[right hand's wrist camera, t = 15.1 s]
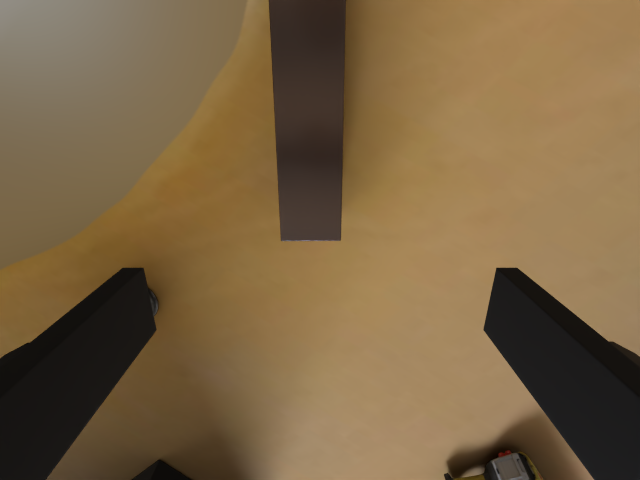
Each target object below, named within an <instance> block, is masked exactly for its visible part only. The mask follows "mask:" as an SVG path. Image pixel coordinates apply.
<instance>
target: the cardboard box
mask: <svg viewBox="0 0 640 480" xmlns="http://www.w3.org/2000/svg"><path fill="white" fill-rule="evenodd" d="M132 480H190V479H188V478H187V477H185V476H184V475H182V474H181V473H179V472H178V471H176V470H174V469H173V468H171V467H170V466H168V465H167V464H165V463H164V462H162V461H160V460H158V461H157V462H155V463H154V464H153V465H151V466H150V467H149V468H147V469H146V470H145V471H143V472H142V473H141V474H139V475H138V476H136V477H135V478H134V479H132Z"/></svg>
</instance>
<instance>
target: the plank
mask: <svg viewBox="0 0 640 480" xmlns="http://www.w3.org/2000/svg"><path fill="white" fill-rule="evenodd" d="M345 9H346V0H269V12H270V32H271V52H272V72H273V92H274V112H275V132H276V152H277V172H278V192H279V212H280V232H281V241H341V210H342V160H343V110H344V60H345Z"/></svg>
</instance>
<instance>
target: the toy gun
mask: <svg viewBox="0 0 640 480" xmlns="http://www.w3.org/2000/svg"><path fill="white" fill-rule="evenodd" d="M498 455H499V458H497V459H493V460H490V462H489V463H488V464H487V465H486V468H485V472H484V474H481V475H476V476H471V477H465V478H452V477H451V476H450V475H449V474H448V473H446V474H444V476H445V480H544V479H543V478H542V476H541V475H540V473H539V472H538V470H537V469H536V467H535V466H534V464H533V463H532V461H531V460H530V458H529V457H528V456H527V455H526V454H525V453H523V452H518V453H511V452H510V450H508V451H506V452H505V454H504V453H502V452H501V453H499V454H498Z"/></svg>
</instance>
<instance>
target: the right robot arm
mask: <svg viewBox="0 0 640 480" xmlns="http://www.w3.org/2000/svg"><path fill="white" fill-rule="evenodd" d="M155 331H156V325H155V320H154V316H153V311H152V306H151V301H150V297H149V292H148V287H147V282H146V277H145V273H144V268H122V269H121V270H120V271H118V272H117V273H116V274H115V275H113V276H112V277H111V278H110V279H108V280H107V281H106V282H105V283H103V284H102V285H101V286H100V287H99V288H97V289H96V290H95V291H94V292H92V293H91V294H90V295H89V296H87V297H86V298H85V299H84V300H82V301H81V302H80V303H79V304H77V305H76V306H75V307H74V308H73V309H71V310H70V311H69V312H68V313H66V314H65V315H64V316H63V317H61V318H60V319H59V320H58V321H56V322H55V323H54V324H53V325H51V326H50V327H49V328H48V329H47V330H45V331H44V332H43V333H42V334H40V335H39V336H38V337H37V338H35V339H34V340H33V341H32V342H30V343H26V344H24V345H23V346H21V347H19V348H17V349H15V350H13V351H11V352H10V353H8V354H6V355H4V356H3V357H2V358H0V480H46V479H47V477H48V476H49V474H50V473H51V472H52V470H53V469H54V468H55V466H56V465H57V464H58V462H59V461H60V460H61V458H62V457H63V456H64V454H65V453H66V452H67V450H68V449H69V447H70V446H71V445H72V443H73V442H74V441H75V439H76V438H77V437H78V435H79V434H80V433H81V431H82V430H83V429H84V427H85V426H86V424H87V423H88V422H89V420H90V419H91V418H92V416H93V415H94V414H95V412H96V411H97V410H98V408H99V407H100V406H101V404H102V403H103V401H104V400H105V399H106V397H107V396H108V395H109V393H110V392H111V391H112V389H113V388H114V387H115V385H116V384H117V383H118V381H119V380H120V378H121V377H122V376H123V374H124V373H125V372H126V370H127V369H128V368H129V366H130V365H131V364H132V362H133V361H134V360H135V358H136V357H137V356H138V354H139V353H140V351H141V350H142V349H143V347H144V346H145V345H146V343H147V342H148V341H149V339H150V338H151V337H152V335H153V334H154V333H155ZM484 331H485V333H486V334H487V335H488V337H489V338H490V339H491V341H492V342H493V343H494V345H495V346H496V347H497V349H498V350H499V351H500V353H501V354H502V356H503V357H504V358H505V360H506V361H507V362H508V364H509V365H510V366H511V368H512V369H513V370H514V372H515V373H516V374H517V376H518V377H519V378H520V380H521V381H522V383H523V384H524V385H525V387H526V388H527V389H528V391H529V392H530V393H531V395H532V396H533V397H534V399H535V400H536V401H537V403H538V404H539V406H540V407H541V408H542V410H543V411H544V412H545V414H546V415H547V416H548V418H549V419H550V420H551V422H552V423H553V424H554V426H555V427H556V429H557V430H558V431H559V433H560V434H561V435H562V437H563V438H564V439H565V441H566V442H567V443H568V445H569V446H570V447H571V449H572V450H573V452H574V453H575V454H576V456H577V457H578V458H579V460H580V461H581V462H582V464H583V465H584V466H585V468H586V469H587V470H588V472H589V473H590V474H591V476H592V477H593V479H594V480H640V357H639V356H638V355H637V354H635V353H633V352H631V351H629V350H628V349H626V348H624V347H622V346H620V345H618V344H616V343H614V342H608V341H607V340H606V339H605V338H603V337H602V336H601V335H600V334H598V333H597V332H596V331H595V330H593V329H592V328H591V327H590V326H589V325H587V324H586V323H585V322H584V321H582V320H581V319H580V318H579V317H577V316H576V315H575V314H574V313H572V312H571V311H570V310H569V309H567V308H566V307H565V306H564V305H563V304H561V303H560V302H559V301H558V300H556V299H555V298H554V297H553V296H551V295H550V294H549V293H548V292H546V291H545V290H544V289H543V288H541V287H540V286H539V285H538V284H536V283H535V282H534V281H533V280H532V279H530V278H529V277H528V276H527V275H525V274H524V273H523V272H522V271H520V270H519V269H518V268H496V273H495V277H494V282H493V287H492V292H491V297H490V301H489V306H488V311H487V316H486V320H485V325H484Z"/></svg>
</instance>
